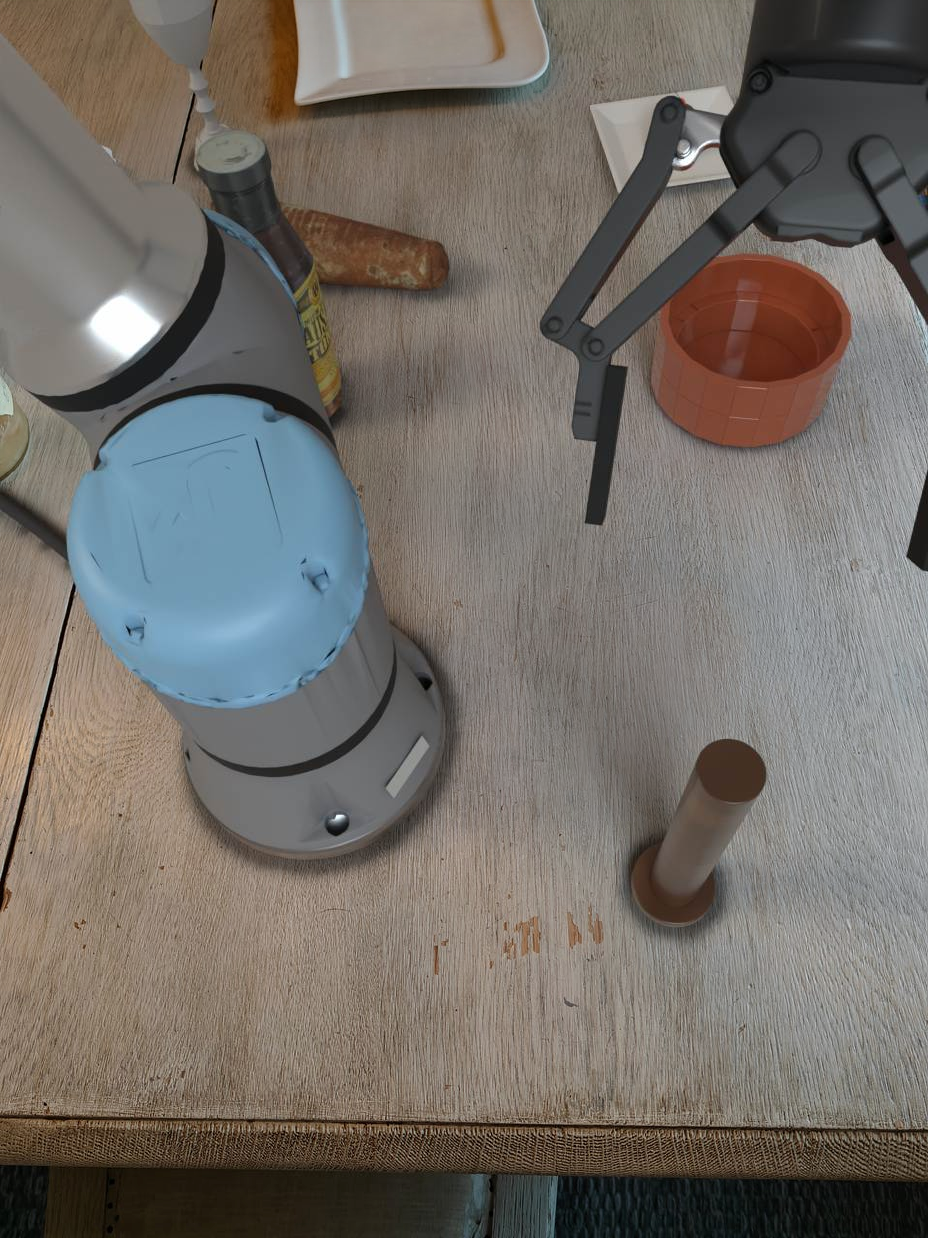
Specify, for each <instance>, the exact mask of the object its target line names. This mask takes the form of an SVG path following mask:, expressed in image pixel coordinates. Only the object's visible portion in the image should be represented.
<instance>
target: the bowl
mask: <svg viewBox="0 0 928 1238" xmlns="http://www.w3.org/2000/svg"><path fill="white" fill-rule="evenodd" d="M851 338H852V315H851V312H850V309H849V308H848V305H847V303H846V301H845V299H844V298H843V295H842V294H841V292H840V291H839V290H838V289H837V287H835V286H834V285H833V284H832V283H831V282H830V281H829V280H828V279H827V278H826V277H824V276H823V275H822V274H821V273H819V272H817V271H815V270H813V269H812V268H810V267H808V266H806V265H804V264H802V263H801V262H798V261H794V260H791V259H787V258H784V257H780V256H777V255H772V254H762V253H748V252H747V253H744V252H743V253H734V254H728V255H722V256H717V257H715V258H714V259H713V260H712V261H711V262H710V263H709V264H708V265H707V266H706V267H705V268H704V269H703V270H702V271H701V272H699V273H698V274H697V275H696V276H695V277H694V278H693V279H692V280H691V281H690V282H689V283H688V284H687V285H686V286H685V287H684V288H682V289H681V290H680V291H679V292H678V293H677V294H676V295H675V296H674V297H673V298H672V299H671V300H670V301H669V302H668V303H667V304H665V305H664V306H663V307H662V308H661V309H660V310H659V316H658V322H657V328H656V335H655V342H654V349H653V356H652V362H651V372H650V384H651V387H652V391H653V394H654V397H655V400H656V402H657V404H658V405H659V407H660V408H661V409H662V410H663V412H664V413H665V414H666V415H667V416H668V418H669V419H670V420H671V421H672V422H673V423H675V424H676V425H678V426H679V427H681V428H682V429H684V430H685V431H687V432H688V433H690V434H691V435H692V436H694V437H697V438H700V439H703V440H707V441H709V442H712V443H715V444H718V445H721V446H729V447H730V446H731V447H741V448H754V447H761V446H766V445H767V446H768V445H773V444H774V445H775V444H779V443H782V442H784V441H786V440H788V439H790V438H792V437H794V436H796V435H798V434H800V433H803V432H804V431H805V430H806V429H807V428H808V427H809V426H810V425H811V424H812V423H813V422H814V421H815V420H816V419H818V417H819V416H820V415H821V413H822V411H823V409H824V407H825V404H826V403H827V400H828V397H829V395H830V393H831V390H832V388H833V385H834V382H835V380H836V378H837V374H838V372H839V370H840V367H841V364H842V362H843V359H844V357H845V354H846V352H847V349H848V347H849V343H850V341H851V340H852V339H851Z"/></svg>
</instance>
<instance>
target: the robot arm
mask: <svg viewBox="0 0 928 1238" xmlns="http://www.w3.org/2000/svg"><path fill="white" fill-rule="evenodd" d="M750 24H751V25H750V29H749V37H748V42H747V48H746V54H745V60H744V65H743V72H742V77H741V83H740V89H739V92H738V97H737V99H736V102H735V103H734V107H733V108H732V110H731V111H730V112H729V114H728V115H722V114H716V113H711V112H706V111H701V110H696V109H691V108H686V107H685V105H684V102H683V101H682V100H681V99H680V98H678V97H676V96H666V97H664V98H662V99H661V100H660V101H659V102H658V103H657V104H656V107H655V109H654V112H653V116H652V120H651V124H650V128H649V132H648V136H647V140H646V144H645V147H644V151H643V155H642V158H641V160H640V162H639V163H638V165H637V166H636V168H635V170H634V171H633V173H632V174H631V176H630V178H629V179H628V181H627V182H626V184H625V186H624V187H623V189H622V190H621V192H620V193H618V195H617V196H616V198H615V200H614V202H613V203H612V205H611V206H610V208H609V209H608V211H607V213H606V215H605V216H604V217H603V219H602V220H601V222H600V224H599V226H598V227H597V229H596V230H595V231H594V233H593V235H592V237H591V238H590V240H589V241H588V243H587V244H586V246H585V248H584V249H583V251H582V252H581V254H580V256H579V257H578V259H577V260H576V262H575V263H574V265H573V267H572V268H571V270H570V271H569V273H568V275H567V276H566V278H565V279H564V281H563V283H562V285H561V286H560V288H559V289H558V291H557V292H556V294H555V295H554V297H553V298H552V301H551V302H550V304H548V307H547V308H546V310H545V311H544V313H543V315H542V316H541V318H540V322H539V330H540V333H541V335H542V336H543V337H544V338H545V339H547V340H549V341H551V342H553V343H555V344H557V345H559V346H561V347H563V348H565V349H566V350H568V351H570V352H572V353H573V354H574V356H575V358H576V360H577V362H578V374H577V380H576V389H575V396H574V402H573V403H574V404H573V411H572V416H571V417H572V419H571V424H570V425H571V426H570V428H571V432H572V435H573V439H574V440H579V441H585V442H586V441H587V442H595V449H594V455H593V461H592V468H591V475H590V481H589V482H590V483H589V489H588V495H587V496H588V497H587V501H586V503H587V504H586V510H585V516H584V524H586V525H594V526H601V527H602V526H603V525H604V522H605V519H606V516H607V510H608V503H609V496H610V490H611V484H612V477H613V471H614V470H613V469H614V462H615V458H616V457H615V456H616V450H617V444H618V437H619V431H620V430H619V429H620V424H621V417H622V412H623V411H622V410H623V403H624V398H625V397H624V396H625V389H626V383H627V376H628V370H629V366H628V365H627V366H626V365H618V364H612V359H613V355H614V354H615V353H616V352H617V351H618V350H619V349H620V348H621V347H622V346H623V345H624V344H625V343H626V342H628V341H629V340H630V339H631V338H632V337H633V336H634V335H635V334H636V333H637V332H638V331H639V330H640V329H641V328H643V326H644V325H645V324H647V323H648V321H650V320H651V319H652V318H653V317H654V316H655V315H656V314H657V313H659V312H660V309H661V308H662V307H663V306H664V305H665V304H667V303H668V302H669V301H670V300H671V299H672V298H673V297H674V296H675V295H676V294H677V293H678V292H679V291H680V290H681V289H682V288H684V287H685V286H686V285H687V284H688V283H689V282H690V281H691V280H692V279H693V278H694V277H695V276H696V275H697V274H698V273H699V272H701V271H702V270H703V269H704V268H705V267H706V266H707V265H708V264H709V263H710V262H711V261H712V260H713V259H714V258H716V257H719V255H720V254H721V253H722V252H723V251H724V250H726V249H727V248H728V247H729V246H730V245H731V244H732V243H733V242H735V240H736V239H738V238H739V237H740V236H741V235H742V234H743V233H744V232H745V231H746V230H747V229H748V228H749V227H750V226H752V224H753V225H754V227H755V228H756V230H758V232H760V233H761V234H762V235H763V236H765V237H767V238H770V242H779V243H787V244H788V243H790V244H791V243H797V242H802V241H807V240H813V241H815V242H819V243H820V244H824V245H826V246H828V247H833V248H846V249H852V248H855V247H856V246H860V245H863V244H865V243H868V242H870V241H872V240H873V239H874V240H875V242H876V244H877V246H878V247H879V249H880V251H881V252H882V254H883V256H884V257H885V259H886V260H887V261H888V262H889V263H890V264H891V265H892V266H893V268H894V269H895V271H896V273H897V275H898V276H899V278H900V280H901V281H902V283H903V285H904V287H905V289H906V290H907V292H908V294H909V296H910V297H911V299H912V301H913V303H914V305H915V306H916V308H917V309H918V311H919V313H920V315H921V317H922V318H923V321H924V322H925V323H926V325H927V326H928V210H927V208H926V206H925V204H924V202H923V201H922V199H921V197H920V196H921V194H923V193H924V191H925V190H927V189H928V0H755V1H754V6H753V13H752V19H751V23H750ZM709 148H719V153H720V156H721V158H722V160H723V162H724V164H725V166H726V169H727V171H728V173H729V175H730V177H731V178H730V179H731V180H732V183H733V185H734V187H735V189H736V190H735V191H734V192H733V193H731V195H730V196H729V197H727V198H726V199H725V200H724V201H723V202H722V203H721V204H720V205H719V206H718V207H717V208H716V209H715V210H714V211H713V212H712V213H711V214H710V216H709V217H707V219H706V220H705V221H704V222H702V223H701V225H699V226H698V227H697V228H696V229H695V231H693V232H692V233H691V234H690V235H689V236H688V237H687V238H686V239H685V240H684V241H683V242H682V243H681V244H680V245H678V247H676V249H675V250H674V251H673V252H671V253H670V254H669V256H667V257H666V258H665V259H664V260H663V261H662V262H661V263H660V264H659V265H658V266H657V267H656V268H655V269H654V270H652V271H651V273H650V274H648V275H647V276H646V277H645V278H644V279H643V280H642V281H641V282H640V284H638V285H637V286H636V287H635V288H634V289H633V290H631V292H630V293H629V294H628V295H627V296H625V297H624V298H623V300H622V301H620V303H618V304H617V305H616V306H615V307H614V308H613V309H612V310H611V311H610V312H609V313H608V314H607V315H606V316H605V317H604V318H602V320H600V322H598V323H597V324H596V325H595V326H592V325H591V324H589V323H586V322H585V321H582V320H583V318H584V316H585V315H586V313H587V312H588V310H589V309H590V307H591V306H592V305H593V303H594V301H595V299H596V298H597V296H598V295H599V293H600V292H601V290H602V288H603V287H604V286H605V284H606V282H607V281H608V279H609V278H610V276H611V275H612V273H613V271H614V270H615V269H616V267H617V265H618V263H619V262H620V260H621V259H622V258H623V256H624V254H625V253H626V252H627V250H628V248H629V247H630V245H631V243H632V242H633V240H634V239H635V237H636V236H637V234H638V233H639V231H640V229H641V228H642V226H643V225H644V223H645V222H646V220H647V218H648V217H649V215H650V214H651V212H652V211H653V209H654V208H655V207H656V205H657V203H658V202H659V200H660V199H661V197H662V195H663V193H664V191H665V190H666V188H667V187H666V186H667V184H668V182H669V180H670V177H671V175H672V172H673V170H676V171H685V170H688V169H689V168H691V167H692V166H693V165H694V164H695V162H696V160H697V158H698V156H699V155H700V154H701V153H702V152H703V151H704V150H706V149H709ZM0 366H1V367H2V369H3V370H4V372H5V373H6V374H7V375H8V377H9V378H10V379H11V380H12V382H14V383H15V384H17V385H18V386H19V387H21V388H22V389H23V390H25V391H26V392H27V393H29V394H30V395H31V396H33V397H34V398H35V399H37V400H38V401H40V403H42V404H43V405H45V406H47V407H48V408H49V409H51V410H52V411H53V412H54V413H55V414H57V415H58V416H60V417H61V418H62V419H64V420H65V421H66V422H67V423H69V424H70V425H72V426H73V427H74V428H75V429H77V431H78V432H79V433H80V434H81V435H82V437H83V438H84V440H85V442H86V445H87V446H88V451H89V452H88V453H89V456H90V457H89V459H90V467H91V470H87V471H85V472H83V473H82V474H81V477H80V479H79V481H78V483H77V486H76V488H75V491H74V494H73V497H72V499H71V503H70V504H71V505H70V509H69V512H68V513H69V514H68V516H67V517H68V518H67V525H66V540H64V539H63V538H62V537H60V536H59V534H57V533H55V531H53V530H52V529H51V528H49V527H48V526H46V525H45V524H44V523H43V522H41V521H40V520H39V519H37V518H36V517H35V516H34V515H32V514H31V513H29V512H27V511H26V510H25V509H23V508H22V507H21V506H19V505H18V504H17V503H15V502H13V501H12V500H11V499H9V498H8V497H7V496H5V495H4V494H2V493H1V492H0V511H2V512H3V513H4V514H6V515H7V516H9V517H10V518H12V519H13V520H14V521H15V522H17V523H18V524H19V525H21V526H23V527H24V528H25V529H26V530H28V531H29V532H30V533H31V534H33V535H34V536H36V537H37V538H38V539H39V540H41V541H42V542H43V543H44V544H46V545H47V546H48V547H50V548H51V550H53V551H54V552H55V553H57V555H59V556H60V557H62V558H63V559H64V560H65V561H66V562H68V565H69V569H70V572H71V576H72V579H73V582H74V585H75V588H76V590H77V592H78V595H79V596H80V598H81V600H82V602H83V604H84V606H85V610H86V612H87V615H88V617H89V618H90V619H91V621H93V623H94V624H95V625H96V627H97V629H98V631H99V634H100V636H101V637H102V640H103V643H104V644H105V645H106V646H107V647H108V648H110V649H111V650H112V653H113V654H114V655H115V657H116V658H117V659H118V660H119V661H121V662H122V663H123V665H124V666H125V667H126V668H127V669H128V671H130V672H131V673H132V674H133V675H134V676H136V677H137V678H138V679H140V681H141V682H142V683H143V684H144V685H145V686H146V688H147V689H148V690H149V691H150V693H152V695H153V696H154V697H155V698H156V699H157V700H158V702H159V703H160V704H161V705H162V706H163V707H164V709H165V710H166V711H167V712H168V714H170V716H171V717H172V718H173V719H174V720H175V721H176V723H178V725H179V726H180V727H181V728H182V753H183V762H184V766H185V771H186V774H187V777H188V780H189V782H190V786H191V787H192V788H193V791H194V793H195V796H196V797H197V798H198V800H199V801H200V803H201V804H202V806H203V807H204V808H205V809H206V811H207V812H208V813H209V815H211V817H212V818H213V819H214V820H215V821H216V822H217V823H218V824H219V825H220V826H221V827H222V828H223V829H224V830H225V831H226V832H227V833H229V834H230V835H231V836H233V838H235V839H236V840H238V841H239V842H241V843H243V844H245V846H248V847H250V848H252V849H254V850H256V851H258V852H260V853H264V854H266V855H270V856H273V857H277V858H282V859H287V860H288V859H289V860H296V861H301V860H302V861H313V860H315V861H316V860H325V859H330V858H331V859H332V858H337V857H341V856H343V855H347V854H351V853H354V852H356V851H359V850H361V849H363V848H366V847H367V846H370V845H371V844H374V843H375V842H377V841H379V840H380V839H382V838H384V837H385V836H387V835H388V834H389V833H392V831H394V830H395V829H397V827H398V826H400V825H401V824H402V823H403V822H404V821H405V820H406V819H407V818H408V817H409V816H410V815H411V814H412V813H413V812H414V811H415V810H416V809H417V808H418V806H419V805H420V803H421V802H422V801H423V799H424V798H425V796H426V795H427V793H428V792H429V789H430V788H431V786H432V784H433V782H434V780H435V778H436V776H437V774H438V770H439V768H440V765H441V763H442V758H443V755H444V750H445V744H446V734H447V733H446V732H447V731H446V730H447V728H446V727H447V726H446V725H447V724H446V714H445V707H444V702H443V698H442V697H443V696H442V692H441V689H440V685H439V682H438V679H437V677H436V674H435V672H434V669H433V668H432V666H431V664H430V662H429V660H428V659H427V658H426V655H424V653H423V651H422V650H421V649H420V648H419V647H418V645H417V644H415V642H414V641H413V640H412V639H410V637H409V636H407V634H405V633H404V632H402V631H401V630H400V629H399V628H397V627H396V626H394V625H393V623H390V621H389V618H388V615H387V611H386V607H385V604H384V600H383V596H382V592H381V589H380V586H379V582H378V579H377V576H376V575H377V574H376V571H375V567H374V564H373V561H372V557H371V554H370V551H369V547H370V541H369V533H368V527H367V523H366V519H365V514H364V510H363V507H362V505H361V502H360V499H359V496H358V494H357V491H356V489H355V487H354V485H353V483H352V481H351V479H349V477H348V476H347V475H346V473H345V469H344V467H343V463H342V460H341V457H340V455H339V450H338V447H337V444H336V439H335V436H334V432H333V429H332V426H331V422H330V418H328V416H327V413H326V409H325V406H324V403H323V399H322V396H321V393H320V390H319V386H318V383H317V380H316V377H315V373H314V370H313V367H312V363H311V360H310V357H309V354H308V350H307V347H306V344H305V339H304V330H303V324H302V320H301V316H300V312H299V311H298V309H297V302H296V300H295V297H294V295H293V293H292V291H291V289H290V287H289V285H288V283H287V281H286V280H285V278H284V276H283V275H282V273H281V272H280V270H279V268H278V267H277V265H276V263H275V262H274V260H273V259H272V257H271V256H270V254H269V253H268V252H267V250H266V249H265V248H264V247H263V246H262V244H261V243H260V242H259V241H258V240H257V239H256V238H255V237H254V236H253V235H252V234H250V233H249V232H248V231H247V230H246V229H244V228H243V227H241V226H240V225H239V224H237V223H236V222H234V221H233V220H231V219H230V218H228V217H226V216H224V215H222V214H219V213H217V212H215V211H213V210H211V208H207V207H206V208H205V209H203V208H202V207H201V206H200V205H199V204H198V202H197V201H196V200H195V199H194V198H193V197H192V196H191V195H190V194H189V193H188V192H186V191H185V190H184V189H183V188H181V187H180V186H178V185H176V184H174V183H172V182H170V181H165V180H162V179H161V180H160V179H131V177H130V176H129V175H128V174H127V172H125V171H124V169H123V168H122V167H121V166H120V164H118V163H117V161H115V159H114V158H113V157H112V156H111V155H110V154H109V153H108V151H106V149H105V148H104V147H103V146H102V145H101V144H100V143H99V141H98V140H97V139H96V138H95V137H94V136H93V134H92V133H90V131H89V130H88V129H87V128H86V127H85V125H83V123H81V121H80V120H79V119H78V118H77V117H76V116H75V115H74V114H73V112H72V111H71V110H70V109H69V108H68V107H67V105H65V103H64V102H63V101H62V100H61V98H59V96H58V95H57V94H56V93H55V92H54V91H53V89H51V87H50V86H49V85H48V84H47V83H46V82H45V80H43V79H42V78H41V76H40V75H39V74H38V72H36V71H35V69H34V68H33V67H32V66H31V65H30V64H29V63H28V62H27V61H26V59H25V58H24V57H23V56H22V55H21V54H20V53H19V52H18V50H17V49H16V48H15V47H14V46H13V45H12V44H11V43H10V41H9V40H8V39H7V38H6V37H5V36H4V35H3V33H1V32H0ZM922 486H923V487H922V489H921V493H920V498H919V501H918V502H919V503H918V506H917V511H916V515H915V519H914V523H913V526H912V531H911V535H910V539H909V543H908V548H907V552H906V555H905V558H907V559H908V560H909V561H910V562H911V563H912V564H914V565H915V566H916V567H917V568H918V569H920V570H921V572H928V469H927V470H926V474H925V478H924V481H923V485H922Z"/></svg>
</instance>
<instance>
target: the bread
mask: <svg viewBox="0 0 928 1238" xmlns="http://www.w3.org/2000/svg"><path fill="white" fill-rule="evenodd" d="M279 203H280V205H281V211H282V212H283V214H284V215H285V217H286V218H287V220H288V221H289V223H290V224H291V225H292V227H293V228H294V230H295V231H296V233H297V234H298V236H299V237H300V239H301V240H302V242H303V243H304V245H305V246H306V248H307V249H308V251H309V252H310V253H311V254H312V256H313V260H314V264H315V267H316V272H317V277H318V281H319V284H330V285H342V286H352V287H353V286H354V287H362V288H373V289H392V290H399V291H400V290H402V291H435V290H437V289H439V288H441V287H442V286H444V285H445V283H446V282H447V279H448V277H449V272H450V261H449V256H448V254H447V252H446V249H445V247H444V245H443V243H441V242H440V241H437V240H433V239H428V238H422V237H419V236H416V235H412V234H409V233H405V232H402V231H398V230H396V229H392V228H387V227H382V226H379V225H375V224H373V223H370V222H369V223H368V222H364V221H360V220H355V219H351V218H347V217H343V216H340V215H336V214H332V213H328V212H323V211H319V210H316V209H311V208H306V207H304V206H299V205H295V204H291V203H286V202H281V201H279ZM210 210H213V211H215V208H214V204H213V201H212V200H211V203H210ZM215 212H216V211H215Z"/></svg>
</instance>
